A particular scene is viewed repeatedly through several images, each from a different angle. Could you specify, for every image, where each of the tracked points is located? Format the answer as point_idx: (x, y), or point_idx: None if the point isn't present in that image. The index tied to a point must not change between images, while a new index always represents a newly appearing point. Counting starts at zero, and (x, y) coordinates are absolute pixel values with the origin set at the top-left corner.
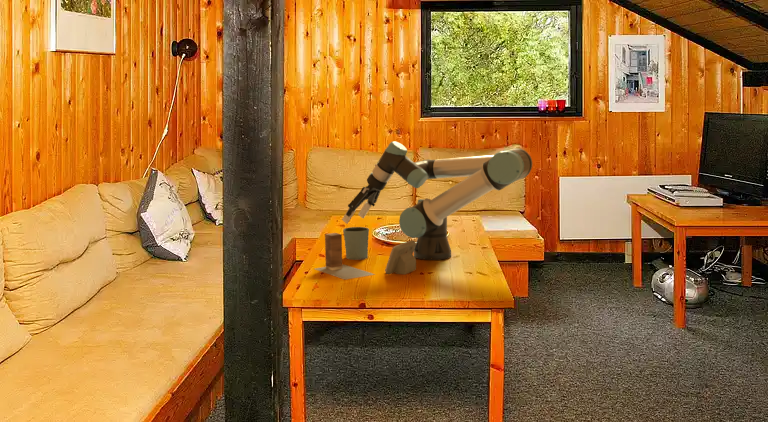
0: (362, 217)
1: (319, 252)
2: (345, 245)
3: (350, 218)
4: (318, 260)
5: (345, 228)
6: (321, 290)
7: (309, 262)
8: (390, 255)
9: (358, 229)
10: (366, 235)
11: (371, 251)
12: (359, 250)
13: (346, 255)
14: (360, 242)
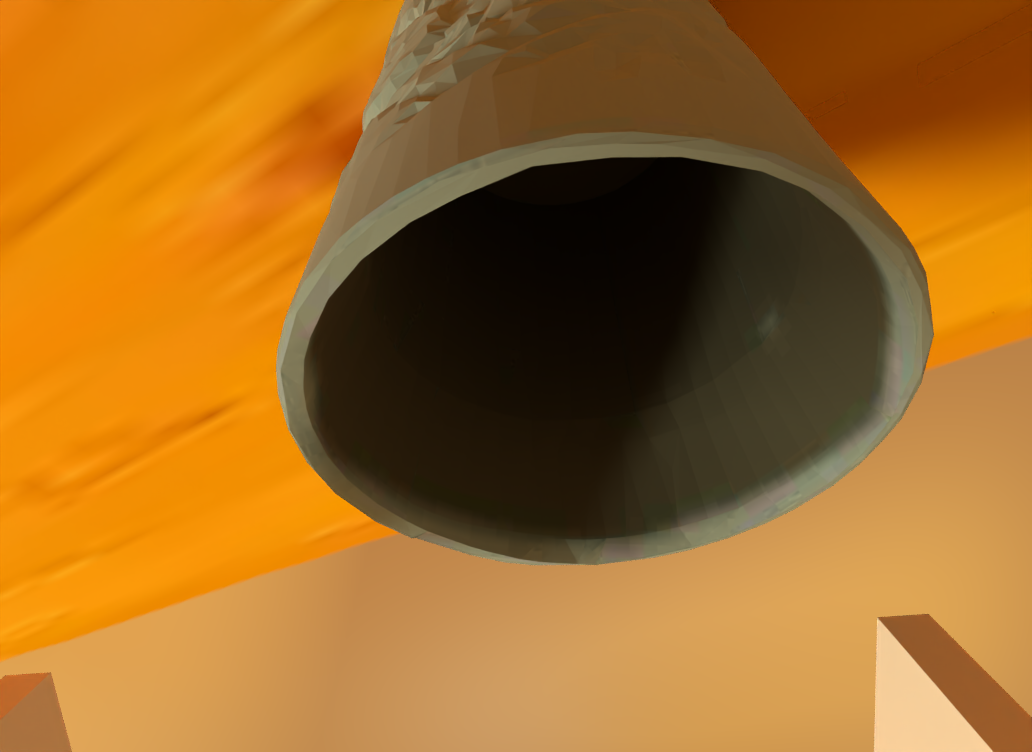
0: (45, 702)
1: None
2: (695, 298)
3: (1025, 746)
4: None
5: (590, 562)
6: None
7: None
8: None
9: (366, 442)
10: (609, 69)
11: (47, 168)
12: (716, 15)
13: (664, 198)
14: (756, 63)
